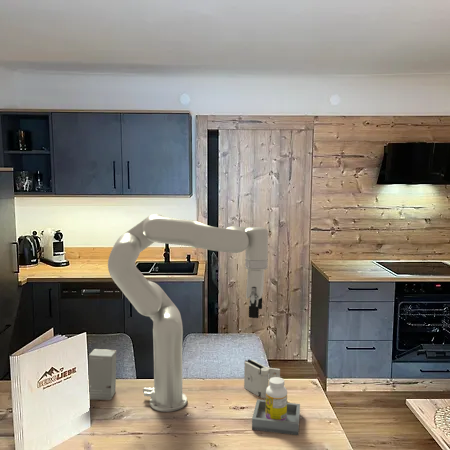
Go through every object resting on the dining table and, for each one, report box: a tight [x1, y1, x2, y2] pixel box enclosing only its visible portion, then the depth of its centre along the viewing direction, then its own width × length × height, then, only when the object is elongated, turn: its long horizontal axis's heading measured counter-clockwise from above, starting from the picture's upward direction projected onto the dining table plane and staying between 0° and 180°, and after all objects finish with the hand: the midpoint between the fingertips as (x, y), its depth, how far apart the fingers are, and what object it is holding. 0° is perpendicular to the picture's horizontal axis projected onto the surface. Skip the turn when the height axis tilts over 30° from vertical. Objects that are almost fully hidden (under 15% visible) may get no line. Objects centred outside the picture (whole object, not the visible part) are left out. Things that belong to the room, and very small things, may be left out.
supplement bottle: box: [265, 376, 288, 421], centre depth 142 cm, size 7×7×13 cm
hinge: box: [243, 358, 281, 399], centre depth 161 cm, size 14×5×10 cm, turn 51°
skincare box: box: [87, 348, 117, 401], centre depth 158 cm, size 8×7×16 cm
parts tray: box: [251, 398, 301, 436], centre depth 143 cm, size 14×12×4 cm
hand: (255, 313), depth 155 cm, fingers open, 9 cm apart
